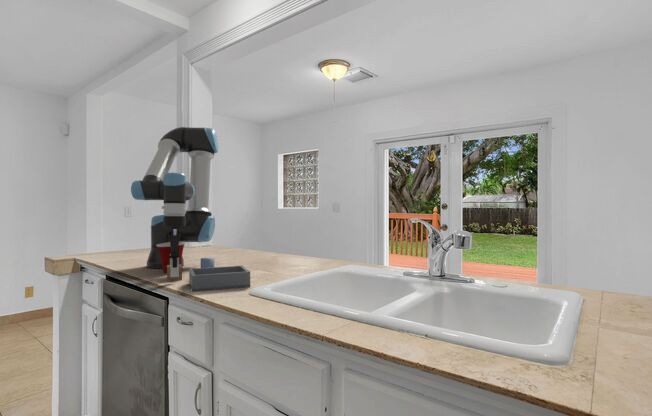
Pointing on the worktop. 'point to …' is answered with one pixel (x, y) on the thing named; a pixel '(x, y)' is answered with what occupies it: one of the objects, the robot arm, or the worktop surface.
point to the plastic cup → (168, 254)
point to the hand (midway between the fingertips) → (174, 274)
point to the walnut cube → (174, 277)
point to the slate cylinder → (207, 262)
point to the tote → (218, 278)
